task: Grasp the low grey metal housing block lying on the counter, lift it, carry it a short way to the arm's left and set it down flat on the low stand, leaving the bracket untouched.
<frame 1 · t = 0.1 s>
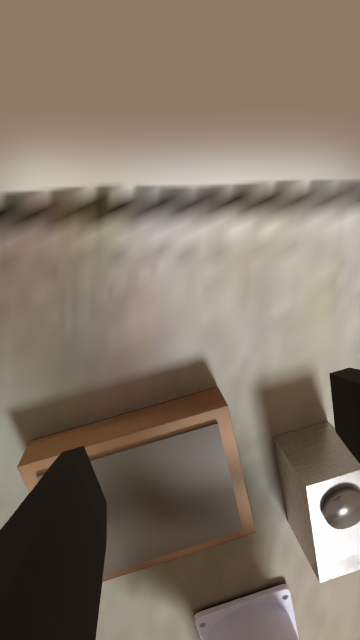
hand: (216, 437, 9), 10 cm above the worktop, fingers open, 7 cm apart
housing: (305, 472, 23), on the worktop
stand: (146, 475, 21), on the worktop
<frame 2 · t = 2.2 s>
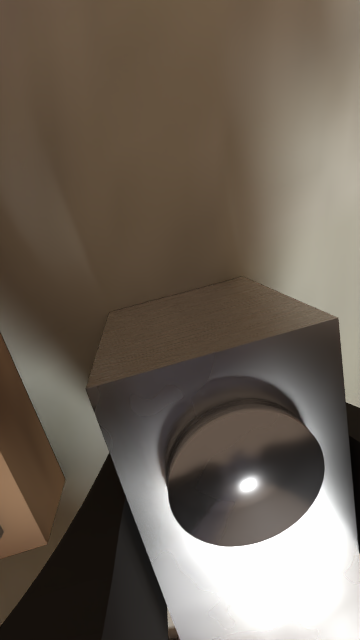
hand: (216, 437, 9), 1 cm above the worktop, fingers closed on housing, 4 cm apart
housing: (205, 410, 10), on the worktop, touching gripper
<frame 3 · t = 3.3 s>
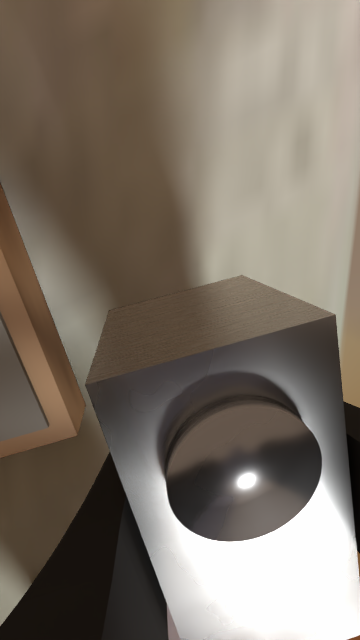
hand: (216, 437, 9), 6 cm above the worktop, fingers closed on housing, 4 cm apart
housing: (205, 408, 10), point 4 cm above the worktop, touching gripper
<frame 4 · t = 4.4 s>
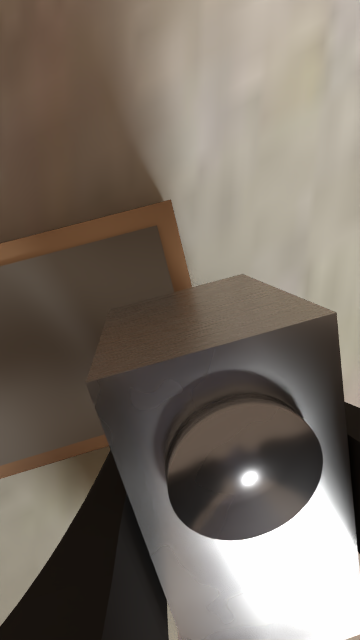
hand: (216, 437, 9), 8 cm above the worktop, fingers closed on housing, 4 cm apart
housing: (205, 407, 10), point 6 cm above the worktop, touching gripper
stand: (75, 337, 16), on the worktop
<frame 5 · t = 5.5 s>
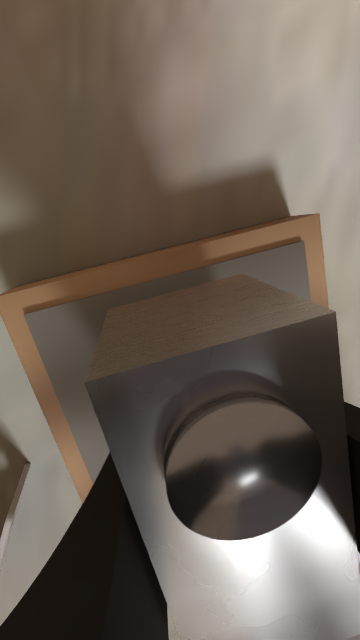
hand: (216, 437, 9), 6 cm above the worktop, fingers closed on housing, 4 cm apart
housing: (205, 407, 10), point 5 cm above the worktop, touching gripper
stand: (184, 355, 15), on the worktop
when the fingers open (5 cm above the worktop, at t = 6.6 s): housing stays where it is, resting on stand.
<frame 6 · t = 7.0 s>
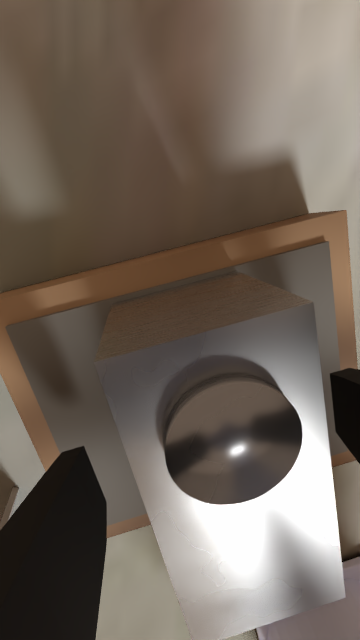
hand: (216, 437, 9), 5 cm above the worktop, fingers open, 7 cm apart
housing: (201, 396, 11), point 2 cm above the worktop, touching stand
stand: (189, 369, 13), on the worktop
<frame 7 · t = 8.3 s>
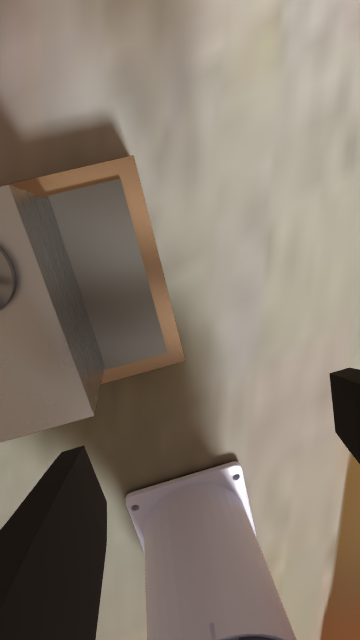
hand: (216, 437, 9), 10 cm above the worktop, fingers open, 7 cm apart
housing: (36, 299, 14), point 2 cm above the worktop, touching stand
stand: (49, 291, 17), on the worktop
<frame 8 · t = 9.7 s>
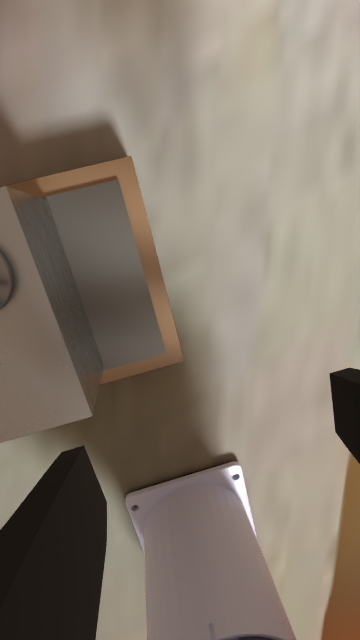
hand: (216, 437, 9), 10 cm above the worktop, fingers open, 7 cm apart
housing: (35, 300, 14), point 2 cm above the worktop, touching stand
stand: (48, 292, 17), on the worktop
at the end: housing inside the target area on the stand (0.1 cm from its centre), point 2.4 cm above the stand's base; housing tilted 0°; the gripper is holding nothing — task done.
